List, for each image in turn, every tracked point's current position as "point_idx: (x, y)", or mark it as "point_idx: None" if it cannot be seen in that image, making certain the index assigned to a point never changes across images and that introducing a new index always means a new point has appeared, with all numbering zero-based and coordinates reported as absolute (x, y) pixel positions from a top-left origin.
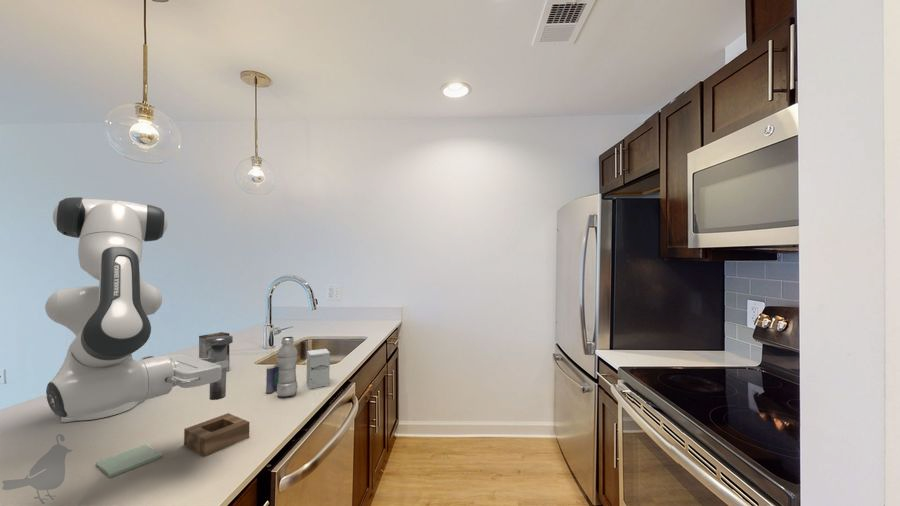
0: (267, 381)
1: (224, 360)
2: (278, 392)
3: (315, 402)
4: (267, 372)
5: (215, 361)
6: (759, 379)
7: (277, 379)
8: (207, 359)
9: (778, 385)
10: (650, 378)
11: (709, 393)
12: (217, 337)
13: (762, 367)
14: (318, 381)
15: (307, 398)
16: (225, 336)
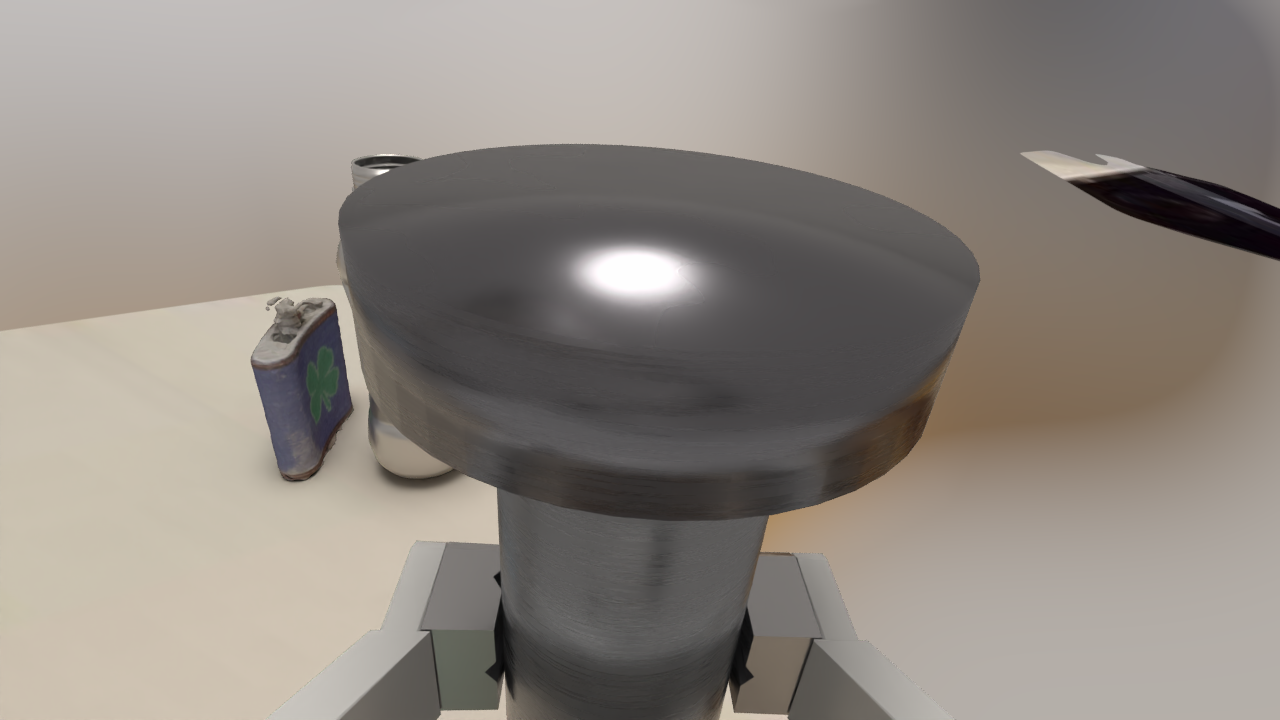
0: (283, 426)
1: (819, 583)
2: (407, 466)
3: None
4: (270, 383)
5: (718, 671)
6: (1203, 189)
7: (315, 399)
8: (402, 671)
9: (1240, 197)
10: (1109, 205)
11: (1227, 223)
12: (580, 201)
13: (1157, 169)
14: None
15: None
16: (620, 165)
